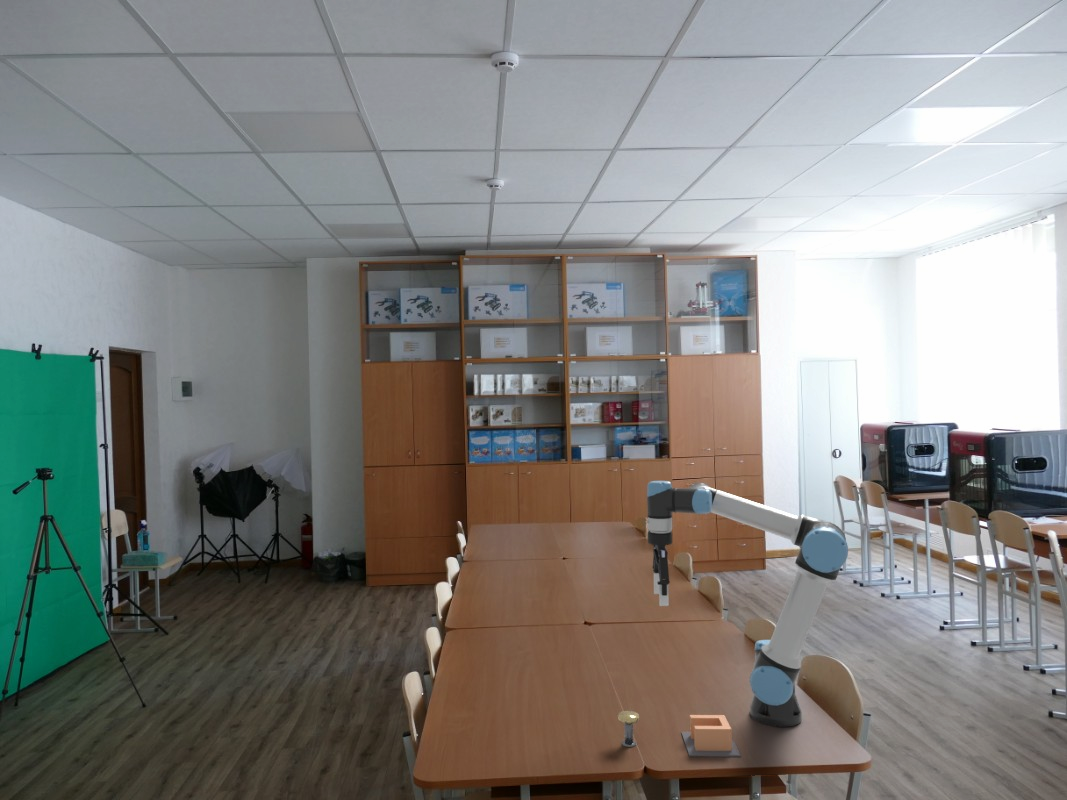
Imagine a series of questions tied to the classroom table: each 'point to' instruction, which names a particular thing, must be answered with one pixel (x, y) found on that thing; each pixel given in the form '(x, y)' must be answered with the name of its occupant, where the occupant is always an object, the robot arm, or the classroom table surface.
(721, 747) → the c link
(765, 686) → the robot arm
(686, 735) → the mat
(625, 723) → the knob post
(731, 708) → the classroom table surface
